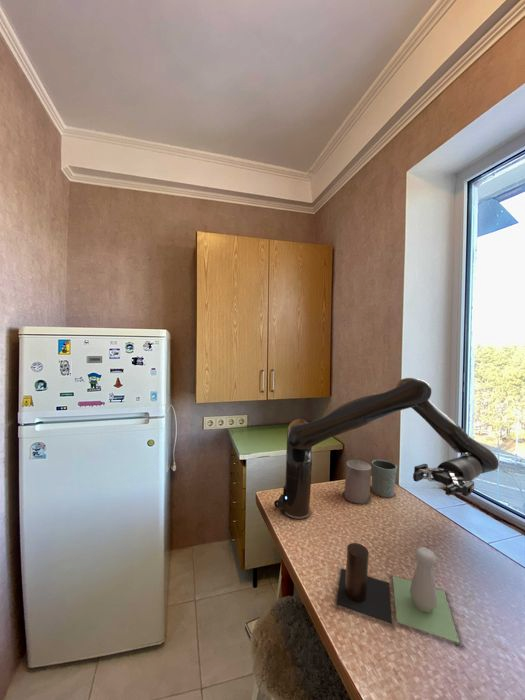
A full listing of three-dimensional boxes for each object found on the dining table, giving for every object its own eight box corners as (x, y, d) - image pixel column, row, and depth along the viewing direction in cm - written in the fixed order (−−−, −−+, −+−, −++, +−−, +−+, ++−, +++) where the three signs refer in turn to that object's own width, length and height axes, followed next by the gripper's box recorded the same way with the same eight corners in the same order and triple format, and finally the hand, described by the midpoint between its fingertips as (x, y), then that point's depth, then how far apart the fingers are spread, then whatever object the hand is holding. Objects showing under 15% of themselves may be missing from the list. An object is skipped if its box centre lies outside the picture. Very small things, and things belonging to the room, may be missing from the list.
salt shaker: (440, 619, 66) (444, 562, 66) (413, 613, 68) (416, 558, 67) (431, 597, 72) (434, 545, 72) (406, 592, 73) (409, 541, 73)
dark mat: (336, 607, 69) (336, 604, 69) (341, 570, 80) (341, 568, 80) (391, 626, 65) (392, 623, 65) (389, 585, 76) (389, 582, 76)
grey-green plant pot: (383, 500, 118) (385, 470, 118) (364, 488, 127) (366, 461, 127) (400, 495, 123) (402, 466, 122) (381, 484, 132) (382, 457, 131)
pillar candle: (357, 490, 125) (359, 455, 125) (374, 501, 117) (376, 464, 116) (339, 494, 121) (341, 458, 121) (356, 506, 112) (358, 467, 112)
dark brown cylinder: (344, 598, 71) (346, 553, 70) (345, 582, 76) (348, 540, 75) (365, 605, 69) (368, 559, 69) (366, 589, 74) (368, 546, 73)
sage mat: (396, 624, 65) (396, 621, 65) (392, 577, 79) (392, 575, 79) (459, 645, 61) (459, 643, 61) (444, 593, 74) (444, 590, 74)
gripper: (433, 452, 96) (406, 461, 87) (485, 469, 84) (460, 481, 75) (431, 474, 96) (404, 486, 87) (483, 494, 84) (458, 510, 75)
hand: (430, 484), depth 81 cm, fingers open, 8 cm apart
